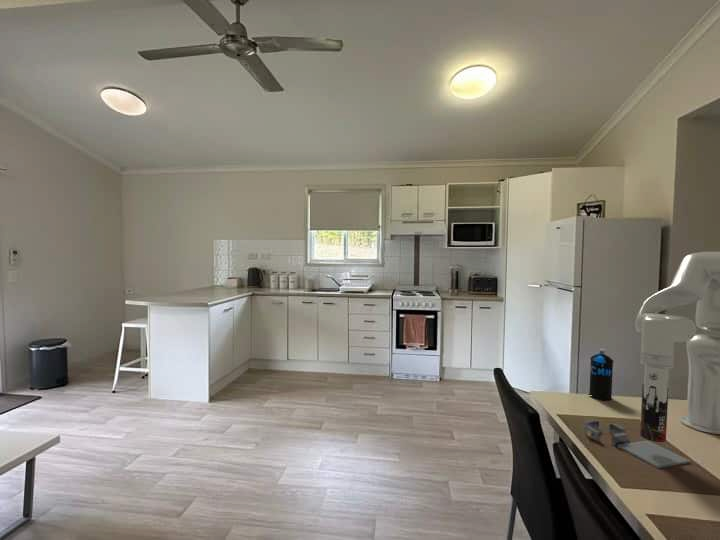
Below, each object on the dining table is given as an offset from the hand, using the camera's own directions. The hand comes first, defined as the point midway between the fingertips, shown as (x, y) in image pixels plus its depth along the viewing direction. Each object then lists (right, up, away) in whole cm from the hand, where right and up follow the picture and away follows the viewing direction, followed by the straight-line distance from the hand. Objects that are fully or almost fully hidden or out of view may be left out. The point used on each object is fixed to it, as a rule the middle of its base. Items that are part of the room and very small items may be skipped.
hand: (653, 420), depth 109 cm
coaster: (0, -10, 0) cm, 10 cm away
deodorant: (0, -5, 0) cm, 5 cm away
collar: (-7, -10, +11) cm, 16 cm away
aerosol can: (+14, -9, +46) cm, 48 cm away
